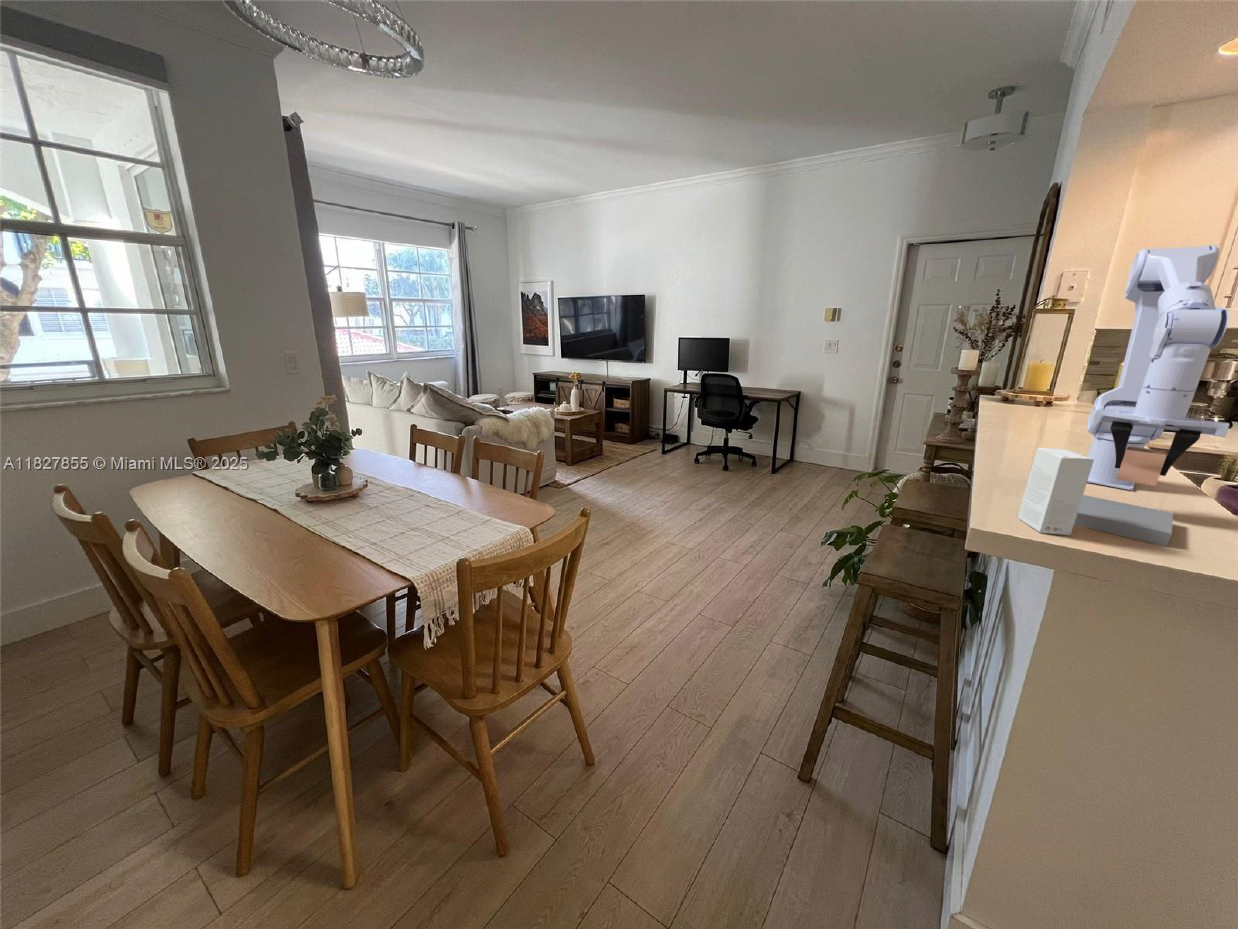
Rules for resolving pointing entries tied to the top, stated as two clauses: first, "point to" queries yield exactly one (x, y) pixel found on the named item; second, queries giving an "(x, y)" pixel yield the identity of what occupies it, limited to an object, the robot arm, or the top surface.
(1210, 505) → the top surface
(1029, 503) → the skincare box
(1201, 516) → the top surface
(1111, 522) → the slate base board
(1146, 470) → the terracotta cube
